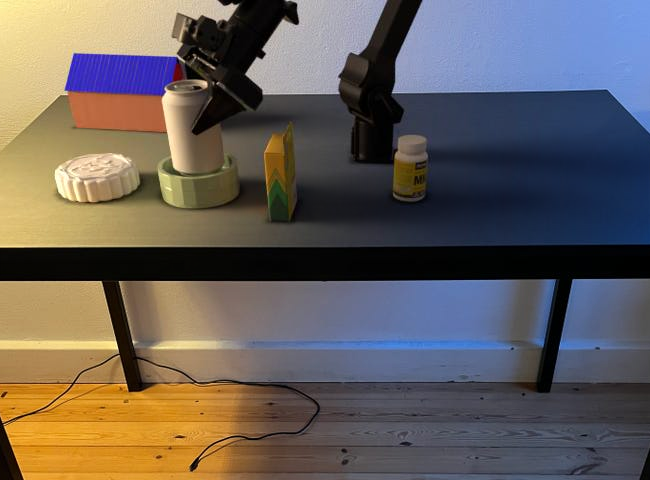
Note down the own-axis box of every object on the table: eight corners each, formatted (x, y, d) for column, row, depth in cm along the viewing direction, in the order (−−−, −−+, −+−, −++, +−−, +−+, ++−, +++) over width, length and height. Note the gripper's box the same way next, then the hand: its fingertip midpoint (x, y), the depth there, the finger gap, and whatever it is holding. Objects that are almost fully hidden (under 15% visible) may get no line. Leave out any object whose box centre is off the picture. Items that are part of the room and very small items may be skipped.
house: (174, 133, 124) (164, 65, 117) (73, 127, 127) (57, 61, 120) (197, 113, 133) (189, 48, 126) (102, 108, 136) (89, 45, 129)
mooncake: (100, 209, 97) (95, 185, 95) (42, 193, 102) (35, 170, 100) (156, 180, 106) (153, 158, 104) (100, 167, 111) (95, 145, 108)
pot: (246, 179, 106) (243, 150, 103) (230, 209, 97) (227, 179, 94) (174, 177, 107) (170, 148, 104) (152, 207, 98) (147, 177, 95)
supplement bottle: (415, 205, 98) (419, 147, 93) (387, 198, 100) (389, 141, 95) (430, 193, 101) (434, 137, 96) (402, 187, 103) (405, 131, 98)
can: (229, 175, 98) (218, 88, 91) (176, 182, 96) (161, 94, 89) (221, 157, 104) (211, 74, 96) (172, 163, 102) (157, 80, 95)
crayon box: (277, 199, 100) (272, 119, 93) (297, 200, 99) (293, 119, 92) (268, 221, 94) (262, 137, 87) (289, 222, 93) (284, 137, 86)
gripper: (180, -22, 94) (117, 74, 96) (230, -3, 81) (156, 108, 83) (239, 32, 102) (179, 120, 104) (294, 59, 88) (224, 158, 91)
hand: (183, 125), depth 95 cm, fingers closed on can, 7 cm apart
